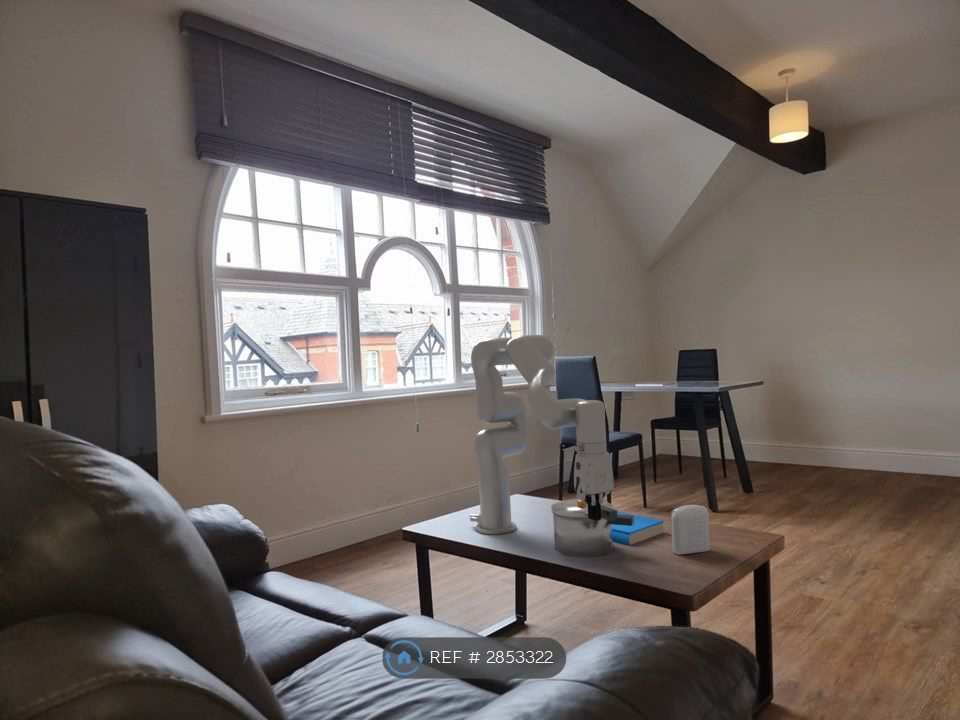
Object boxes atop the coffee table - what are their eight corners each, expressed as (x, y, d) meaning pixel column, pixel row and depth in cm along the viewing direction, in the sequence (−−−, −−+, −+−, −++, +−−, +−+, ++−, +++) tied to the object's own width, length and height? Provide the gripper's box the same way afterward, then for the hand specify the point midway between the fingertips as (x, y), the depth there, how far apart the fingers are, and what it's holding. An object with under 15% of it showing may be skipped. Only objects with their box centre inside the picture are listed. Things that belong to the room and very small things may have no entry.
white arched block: (703, 547, 173) (701, 501, 173) (712, 551, 169) (711, 505, 169) (669, 551, 170) (667, 505, 170) (678, 556, 166) (676, 509, 166)
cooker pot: (546, 553, 173) (545, 516, 173) (564, 537, 188) (563, 503, 188) (627, 561, 164) (626, 522, 164) (640, 543, 178) (638, 508, 178)
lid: (540, 508, 181) (540, 498, 181) (590, 500, 188) (589, 490, 188) (586, 527, 160) (585, 515, 160) (639, 517, 167) (639, 506, 167)
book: (597, 507, 207) (664, 519, 188) (598, 520, 207) (664, 533, 188) (561, 517, 196) (628, 531, 177) (562, 531, 196) (629, 547, 177)
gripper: (579, 453, 157) (582, 527, 157) (623, 446, 165) (626, 516, 166) (559, 450, 164) (563, 521, 164) (602, 443, 172) (605, 511, 172)
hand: (594, 519), depth 165 cm, fingers closed
